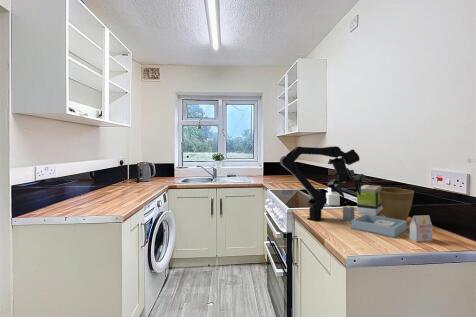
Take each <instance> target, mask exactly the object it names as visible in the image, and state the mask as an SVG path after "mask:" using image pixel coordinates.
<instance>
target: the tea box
mask: <svg viewBox="0 0 476 317" xmlns="http://www.w3.org/2000/svg"><path fill="white" fill-rule="evenodd" d="M380 189H382V185H372V184H371V185H369V184H363V185H361V195H359V194H358V192H357V191H356V203H357V204H356V209H357V214H362V215H365V214H369V215H375V216H378V214H379V213H380V212H381V211H383V207H382V204H381V199H380V194H379V190H380Z"/></svg>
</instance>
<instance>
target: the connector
mask: <svg viewBox="0 0 476 317" xmlns="http://www.w3.org/2000/svg"><path fill="white" fill-rule="evenodd" d="M353 219H355V207H354V206H351V205H346V206H343V207H342V221H343V222H347V223H351V220H353Z"/></svg>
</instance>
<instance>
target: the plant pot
mask: <svg viewBox="0 0 476 317" xmlns="http://www.w3.org/2000/svg"><path fill="white" fill-rule="evenodd" d="M379 194H380V199H381V204H382V211H383V213H384V216H385V217H387V218H393V219H398V220H404V221H408V220H407V219H408V217H409V215H410V212H411V209H412V204H413V200H414V199H413V198H414V195H415V191H414V190H411V189H404V188H403V189H402V188H381V189H380V190H379Z"/></svg>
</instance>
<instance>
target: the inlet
mask: <svg viewBox="0 0 476 317" xmlns="http://www.w3.org/2000/svg"><path fill="white" fill-rule="evenodd" d="M374 224H377V225H382V226H388V227H394V226H396V222H390V221H385V220H378V221H376V222H374Z"/></svg>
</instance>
